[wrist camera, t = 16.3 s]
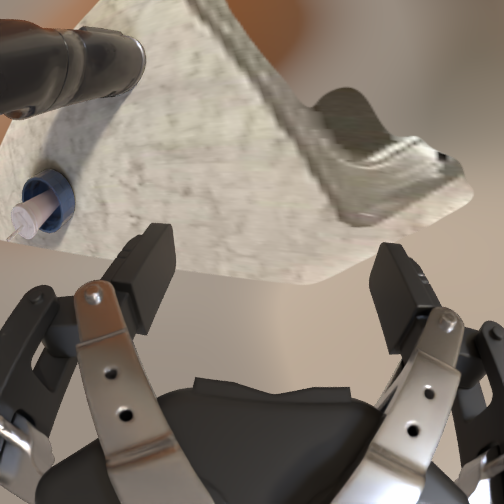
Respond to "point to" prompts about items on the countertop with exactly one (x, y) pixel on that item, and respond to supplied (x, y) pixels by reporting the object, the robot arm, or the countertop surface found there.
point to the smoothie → (33, 214)
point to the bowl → (61, 190)
